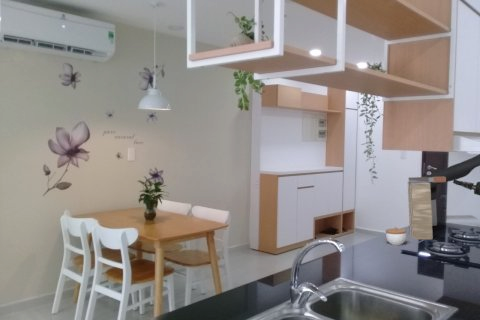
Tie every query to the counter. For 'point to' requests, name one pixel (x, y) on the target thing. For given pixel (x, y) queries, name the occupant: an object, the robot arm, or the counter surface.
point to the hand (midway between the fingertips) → (454, 181)
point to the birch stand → (420, 208)
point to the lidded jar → (396, 236)
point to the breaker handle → (437, 179)
